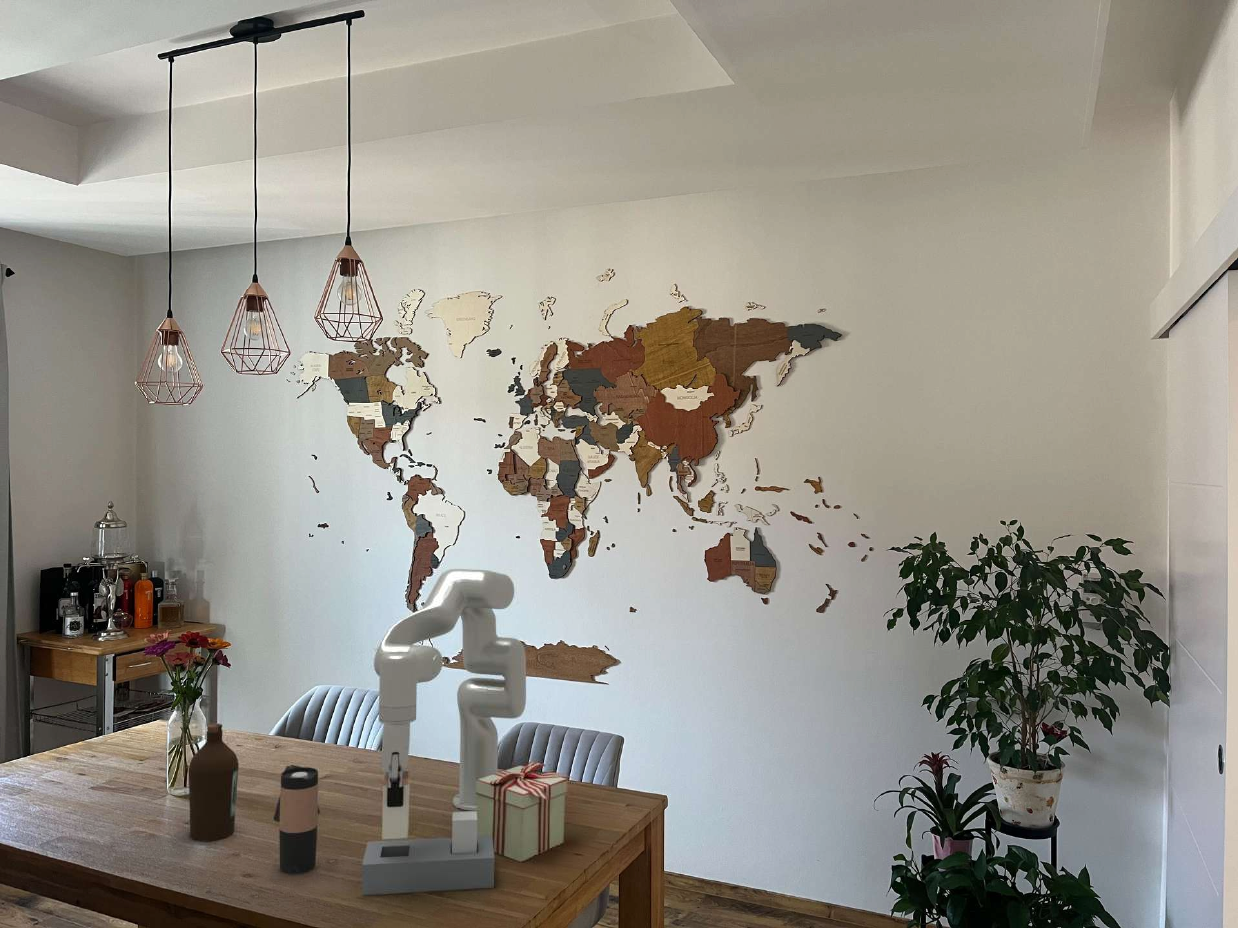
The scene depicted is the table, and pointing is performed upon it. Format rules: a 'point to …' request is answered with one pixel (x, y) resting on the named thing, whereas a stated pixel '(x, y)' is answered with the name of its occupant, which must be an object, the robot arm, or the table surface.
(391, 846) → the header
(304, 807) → the travel mug
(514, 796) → the gift box
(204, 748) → the olive oil
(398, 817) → the cream plug
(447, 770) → the table surface
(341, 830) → the table surface
